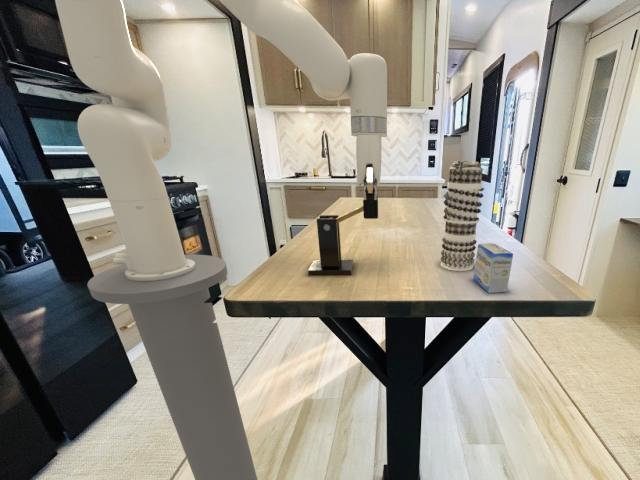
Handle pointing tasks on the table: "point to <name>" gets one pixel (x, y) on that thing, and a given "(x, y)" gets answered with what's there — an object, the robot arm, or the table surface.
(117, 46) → the robot arm
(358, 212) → the flush lever
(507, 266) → the medicine box
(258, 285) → the table surface
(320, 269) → the lever bracket
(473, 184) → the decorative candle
